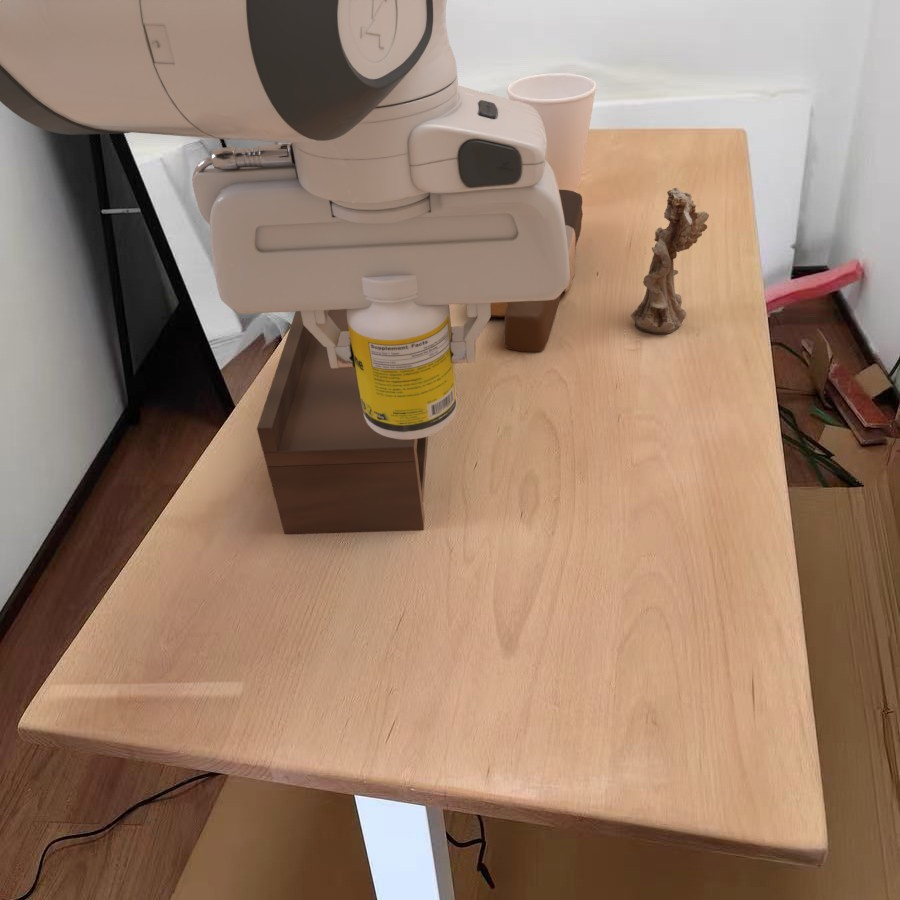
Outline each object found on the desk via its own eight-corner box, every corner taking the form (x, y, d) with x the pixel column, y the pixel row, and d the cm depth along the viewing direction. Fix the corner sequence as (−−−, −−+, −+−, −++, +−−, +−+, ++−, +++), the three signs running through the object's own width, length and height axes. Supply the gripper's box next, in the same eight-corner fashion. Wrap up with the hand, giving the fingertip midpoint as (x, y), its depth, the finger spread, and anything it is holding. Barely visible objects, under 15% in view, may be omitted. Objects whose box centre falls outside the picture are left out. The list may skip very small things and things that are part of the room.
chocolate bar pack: (590, 224, 114) (592, 165, 108) (552, 367, 94) (552, 304, 88) (500, 219, 117) (496, 162, 111) (444, 357, 97) (437, 296, 91)
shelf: (423, 529, 73) (410, 422, 66) (284, 534, 74) (256, 428, 67) (436, 351, 95) (428, 256, 88) (328, 356, 96) (311, 262, 89)
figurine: (647, 302, 100) (658, 175, 91) (698, 313, 97) (715, 184, 88) (623, 332, 95) (631, 202, 86) (675, 344, 93) (690, 211, 83)
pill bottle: (372, 386, 59) (349, 237, 52) (462, 386, 58) (451, 235, 51) (355, 443, 55) (327, 287, 48) (452, 444, 54) (438, 286, 47)
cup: (605, 210, 120) (610, 91, 111) (523, 224, 119) (521, 105, 109) (576, 180, 130) (578, 68, 120) (500, 192, 128) (496, 80, 118)
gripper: (166, 173, 43) (229, 396, 52) (575, 150, 42) (570, 383, 51) (198, 129, 48) (252, 340, 57) (566, 107, 47) (563, 327, 56)
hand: (404, 360), depth 54 cm, fingers closed on pill bottle, 6 cm apart
